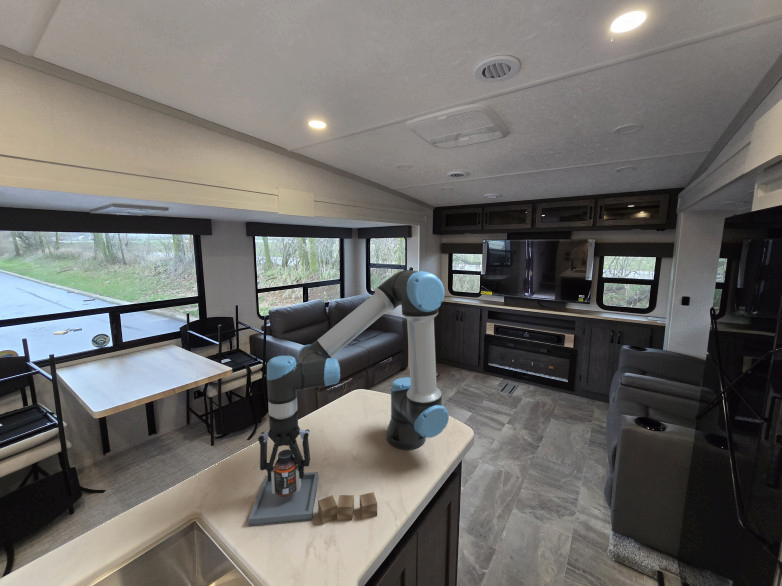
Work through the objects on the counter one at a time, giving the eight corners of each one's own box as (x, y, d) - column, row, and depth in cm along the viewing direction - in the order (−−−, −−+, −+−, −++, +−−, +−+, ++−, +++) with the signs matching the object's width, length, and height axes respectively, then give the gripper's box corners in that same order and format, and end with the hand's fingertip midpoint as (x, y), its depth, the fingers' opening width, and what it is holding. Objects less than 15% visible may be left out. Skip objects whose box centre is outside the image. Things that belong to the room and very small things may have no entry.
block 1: (332, 508, 86) (332, 495, 86) (337, 518, 83) (337, 505, 82) (318, 513, 85) (318, 500, 84) (322, 525, 81) (322, 511, 81)
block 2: (354, 508, 86) (353, 495, 86) (352, 520, 82) (351, 507, 82) (339, 508, 86) (339, 495, 86) (337, 520, 82) (336, 506, 82)
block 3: (373, 505, 88) (373, 492, 87) (377, 516, 84) (377, 503, 83) (359, 508, 86) (359, 495, 86) (362, 520, 83) (362, 506, 82)
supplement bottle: (291, 499, 85) (289, 461, 84) (271, 496, 87) (269, 458, 85) (301, 484, 91) (300, 448, 90) (283, 481, 92) (281, 445, 91)
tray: (318, 477, 98) (318, 471, 98) (311, 520, 82) (311, 513, 82) (265, 481, 96) (265, 475, 96) (248, 526, 80) (248, 519, 80)
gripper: (319, 404, 91) (321, 476, 94) (252, 407, 89) (256, 482, 91) (316, 417, 83) (319, 496, 86) (242, 421, 81) (247, 502, 84)
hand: (286, 488), depth 89 cm, fingers closed on supplement bottle, 6 cm apart
